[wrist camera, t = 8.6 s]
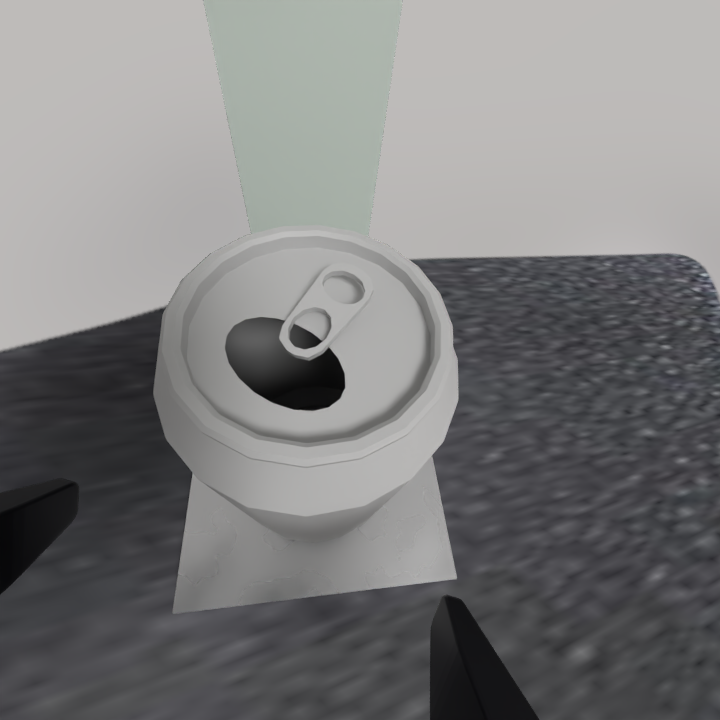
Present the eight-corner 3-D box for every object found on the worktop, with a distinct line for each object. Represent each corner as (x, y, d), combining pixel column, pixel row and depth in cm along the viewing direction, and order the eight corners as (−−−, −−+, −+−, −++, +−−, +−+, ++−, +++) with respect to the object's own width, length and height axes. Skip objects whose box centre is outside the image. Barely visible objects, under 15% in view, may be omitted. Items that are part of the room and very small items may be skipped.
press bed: (446, 577, 17) (457, 578, 16) (184, 609, 15) (172, 614, 14) (406, 366, 23) (411, 354, 21) (215, 373, 21) (208, 361, 20)
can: (205, 477, 17) (23, 335, 6) (305, 369, 20) (292, 165, 10) (330, 582, 15) (358, 619, 5) (415, 445, 18) (536, 294, 8)
